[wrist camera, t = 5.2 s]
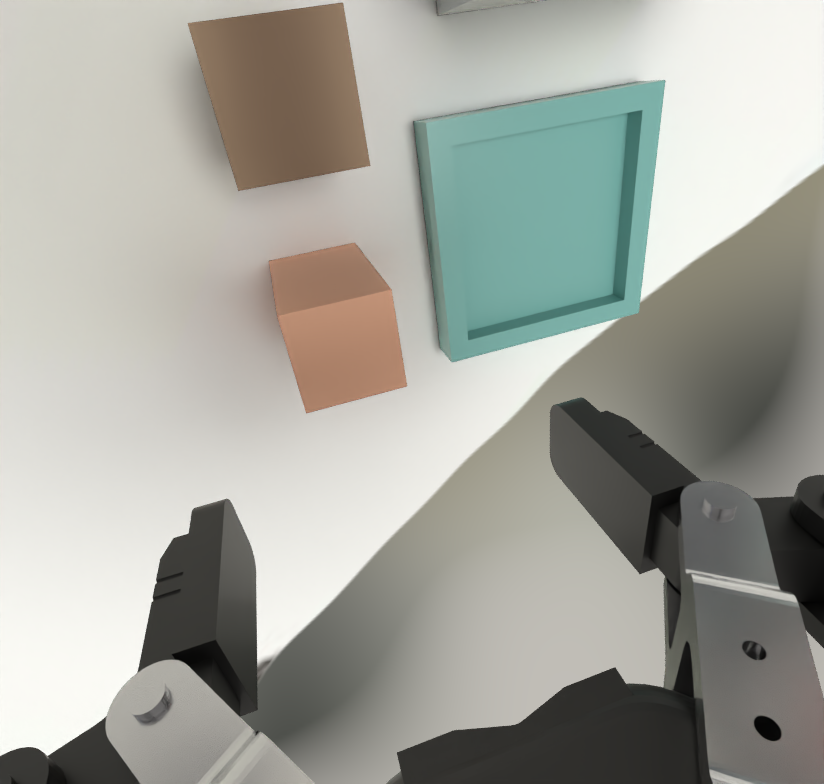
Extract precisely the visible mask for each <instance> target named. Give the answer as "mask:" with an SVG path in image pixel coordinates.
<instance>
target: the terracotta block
mask: <svg viewBox="0 0 824 784" xmlns="http://www.w3.org/2000/svg"><path fill="white" fill-rule="evenodd" d="M269 266H270V273H271V279H272V286H273V292H274V299H275V305H276V312H277V317H278V321H279V324H280V327H281V331H282V334H283V337H284V341H285V344H286V347H287V351H288V354H289V357H290V361H291V364H292V367H293V371H294V374H295V377H296V381H297V384H298V387H299V391H300V394H301V397H302V401H303V404H304V407H305V411H306V413H309V412H313V411H317V410H320V409H324V408H328V407H332V406H335V405H339V404H343V403H347V402H350V401H354V400H358V399H362V398H365V397H369V396H373V395H376V394H380V393H384V392H388V391H391V390H395V389H399V388H403V387H406V386H407V383H406V376H405V370H404V364H403V358H402V352H401V346H400V340H399V333H398V327H397V321H396V315H395V309H394V303H393V296H392V290H391V289H390V287H389V286H388V285H387V283H386V282H385V281H384V280H383V278H382V277H381V276H380V274H379V273H378V272H377V271H376V269H375V268H374V267H373V266H372V264H371V263H370V262H369V260H368V259H367V258H366V257H365V255H364V254H363V253H362V251H361V250H360V249H359V248H358V246H357V245H356V244H355V243H351V244H346V245H342V246H337V247H332V248H327V249H323V250H318V251H313V252H309V253H304V254H299V255H295V256H290V257H285V258H280V259H276V260H271V261H269Z"/></svg>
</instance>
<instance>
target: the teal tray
mask: <svg viewBox="0 0 824 784" xmlns="http://www.w3.org/2000/svg"><path fill="white" fill-rule="evenodd" d="M664 87H665V80H657V81H639V82H633V83H627V84H622V85H616V86H610V87H605V88H599V89H593V90H588V91H582V92H576V93H571V94H565V95H559V96H554V97H548V98H542V99H537V100H531V101H525V102H520V103H514V104H508V105H503V106H497V107H491V108H486V109H480V110H474V111H469V112H463V113H458V114H452V115H446V116H441V117H435V118H429V119H424V120H418V121H413V122H414V130H415V138H416V147H417V155H418V164H419V172H420V181H421V189H422V198H423V206H424V214H425V223H426V231H427V240H428V248H429V257H430V265H431V273H432V282H433V290H434V299H435V307H436V316H437V324H438V333H439V341H440V348H441V350H442V351H443V352H444V353H445V355H446V356H447V357H448V358H449V360H450V361H451V362H455V361H459V360H463V359H467V358H470V357H474V356H478V355H482V354H485V353H489V352H493V351H497V350H501V349H504V348H508V347H512V346H516V345H519V344H523V343H527V342H531V341H534V340H538V339H542V338H546V337H550V336H553V335H557V334H561V333H565V332H568V331H572V330H576V329H580V328H583V327H587V326H591V325H595V324H599V323H602V322H606V321H610V320H614V319H617V318H621V317H625V316H628V315H632V314H636V313H639V305H640V297H641V288H642V279H643V270H644V262H645V253H646V244H647V235H648V227H649V218H650V209H651V200H652V192H653V183H654V174H655V165H656V157H657V148H658V139H659V130H660V122H661V113H662V104H663V96H664Z"/></svg>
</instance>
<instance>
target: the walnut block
mask: <svg viewBox="0 0 824 784" xmlns="http://www.w3.org/2000/svg"><path fill="white" fill-rule="evenodd" d="M188 26H189V30H190V33H191V36H192V40H193V43H194V46H195V49H196V53H197V56H198V59H199V63H200V66H201V69H202V72H203V76H204V79H205V82H206V86H207V89H208V92H209V95H210V99H211V102H212V105H213V109H214V112H215V115H216V118H217V122H218V125H219V128H220V132H221V135H222V138H223V141H224V145H225V148H226V151H227V155H228V158H229V161H230V164H231V168H232V171H233V174H234V178H235V181H236V184H237V187H238V191H240V190H246V189H251V188H256V187H261V186H267V185H272V184H277V183H282V182H288V181H293V180H298V179H303V178H309V177H314V176H319V175H324V174H330V173H335V172H340V171H345V170H351V169H356V168H361V167H366V166H370V161H369V155H368V149H367V144H366V138H365V132H364V126H363V120H362V114H361V108H360V102H359V96H358V90H357V84H356V78H355V72H354V66H353V60H352V54H351V48H350V42H349V36H348V30H347V24H346V18H345V12H344V6H343V3H336V4H329V5H321V6H314V7H306V8H299V9H291V10H284V11H276V12H269V13H261V14H254V15H246V16H239V17H231V18H224V19H216V20H209V21H201V22H194V23H188Z"/></svg>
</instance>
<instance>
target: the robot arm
mask: <svg viewBox="0 0 824 784" xmlns="http://www.w3.org/2000/svg"><path fill="white" fill-rule="evenodd" d="M550 458H551V462H552V465H553V467H554V470H555V472H556V473H557V475H558V476H559V478H560V479H561V480H562V481H563V483H564V484H565V485H566V486H567V487H568V489H569V490H570V491H571V492H572V493H573V495H575V497H576V498H577V499H578V501H580V503H581V504H582V505H583V506H584V507H585V509H586V510H587V511H588V513H589V514H590V515H591V516H592V517H593V518H594V520H595V521H596V522H597V523H598V524H599V526H600V527H601V528H602V529H603V530H604V532H605V533H606V534H607V535H608V536H609V538H610V539H611V540H612V541H613V542H614V544H615V545H616V546H617V547H618V548H619V550H620V551H621V552H622V553H623V554H624V556H625V557H626V558H627V559H628V560H629V562H630V563H631V564H632V565H633V566H634V568H635V569H636V570H637V571H638V572H639V574H642V573H644V572H647V571H650V570H653V569H655V568H659V569H660V571H661V572H662V573H663V574H664V575H665V578H664V585H663V586H664V622H665V655H666V657H665V659H666V660H665V661H666V662H665V676H664V687H663V688H662V687H658V686H652V685H646V684H626V683H625V682H624V680H623V679H622V677H621V676H620V674H619V673H618V671H617V670H616V668H612V669H610V670H607V671H604V672H602V673H599V674H597V675H594V676H592V677H589V678H587V679H584V680H582V681H579V682H576V683H574V684H571V685H569V686H566V687H564V688H563V689H562V690H560V691H559V692H558V693H557V694H555V695H554V696H553V697H552V698H550V699H549V700H548V701H547V702H545V703H544V704H543V705H542V706H540V707H539V708H538V709H537V710H535V711H534V712H533V713H532V714H531V715H529V716H528V717H527V718H526V719H524V720H523V721H522V722H520V723H519V724H516V725H511V726H500V727H490V728H477V729H466V730H454V731H451V732H449V733H446V734H444V735H441V736H438V737H436V738H433V739H431V740H428V741H426V742H423V743H421V744H418V745H415V746H413V747H410V748H408V749H405V750H403V751H400V752H397V755H398V760H399V764H400V769H401V772H399V773H398V774H397V775H396V776H394V777H393V778H392V779H391V780H389V782H388V783H387V784H824V698H823V694H822V690H821V686H820V683H819V679H818V675H817V671H816V668H815V664H814V660H813V656H812V653H811V649H810V646H809V642H808V638H807V634H806V631H807V632H808V633H809V634H810V635H811V636H812V637H813V638H814V639H815V640H816V641H817V642H818V643H819V644H820V645H821V646H822V647H823V648H824V475H815V476H810V477H807V478H805V479H803V480H802V481H801V482H800V483H799V484H798V487H797V489H796V493H795V495H794V497H774V498H752V497H751V496H750V495H748V494H747V493H745V492H744V491H742V490H741V489H739V488H736V487H734V486H732V485H729V484H725V483H721V482H715V481H701V480H700V479H699V478H697V477H696V476H695V475H694V474H693V473H691V472H690V471H689V470H688V469H686V468H685V467H684V466H683V465H682V464H680V463H679V462H678V461H677V460H676V459H674V458H673V457H672V456H671V455H670V454H668V453H667V452H666V451H665V450H663V449H662V448H661V447H660V446H659V445H658V444H656V445H655V444H654V441H653V440H651V439H650V438H649V437H648V436H647V435H645V434H642V431H641V430H639V429H638V428H637V427H635V426H634V425H633V424H632V423H631V422H630V421H629V420H627V419H625V418H623V417H620V416H618V415H616V414H613V413H611V412H609V411H604V412H600V411H598V410H597V409H596V408H595V407H594V406H593V405H591V404H590V403H589V402H588V401H587V400H585V399H584V398H577V399H573V400H570V401H567V402H563V403H560V404H556V405H553V406H552V408H551V411H550ZM156 581H157V584H155V589H154V594H153V602H152V604H151V609H150V614H149V619H148V624H147V629H146V634H145V639H144V644H143V649H142V654H141V659H140V664H139V668H138V672H137V674H136V675H134V676H133V677H132V678H131V679H130V680H129V681H128V682H127V683H126V684H125V685H124V686H123V687H122V688H121V690H120V691H119V692H118V694H117V695H116V697H115V698H114V700H113V702H112V704H111V706H110V708H109V711H108V714H107V716H106V717H105V718H104V719H103V720H102V721H100V722H99V723H97V724H96V725H95V726H93V727H92V728H90V729H89V730H87V731H86V732H84V733H82V734H81V735H79V736H78V737H76V738H75V739H73V740H72V741H70V742H69V743H67V744H65V745H64V746H62V747H61V748H59V749H58V750H56V751H55V752H53V753H52V754H50V755H48V756H47V755H46V754H44V753H43V752H42V751H41V750H39V749H36V748H33V747H25V748H19V749H16V750H13V751H10V752H8V753H6V754H4V755H2V756H0V784H315V783H314V782H313V781H311V780H310V778H309V777H308V776H307V775H306V774H305V773H304V772H303V771H302V770H301V769H299V768H298V767H297V766H296V765H295V764H294V763H293V762H292V761H291V760H290V759H289V758H288V757H287V756H286V755H285V754H284V753H283V752H282V751H281V750H280V749H279V748H278V747H277V746H276V745H275V744H274V743H273V742H272V741H271V740H270V739H269V738H267V737H266V736H265V735H264V734H263V733H262V732H260V731H257V732H255V731H254V730H252V729H251V728H250V727H249V726H248V725H247V724H246V723H245V722H244V721H243V720H242V719H241V718H240V716H242V715H245V714H248V713H251V712H254V711H256V710H257V709H258V702H257V701H258V700H257V619H256V566H255V560H254V555H253V551H252V548H251V545H250V543H249V540H248V538H247V536H246V534H245V532H244V529H243V527H242V525H241V523H240V521H239V518H238V516H237V514H236V512H235V510H234V507H233V505H232V503H231V502H230V500H229V499H224V500H221V501H217V502H214V503H211V504H207V505H204V506H200V507H197V508H194V509H193V511H192V514H191V521H190V528H189V534H186V535H183V536H179V537H176V538H174V539H173V540H172V542H171V543H170V545H169V546H168V548H167V549H166V551H165V553H164V554H163V556H162V557H161V559H160V563H159V568H158V573H157V578H156Z"/></svg>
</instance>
